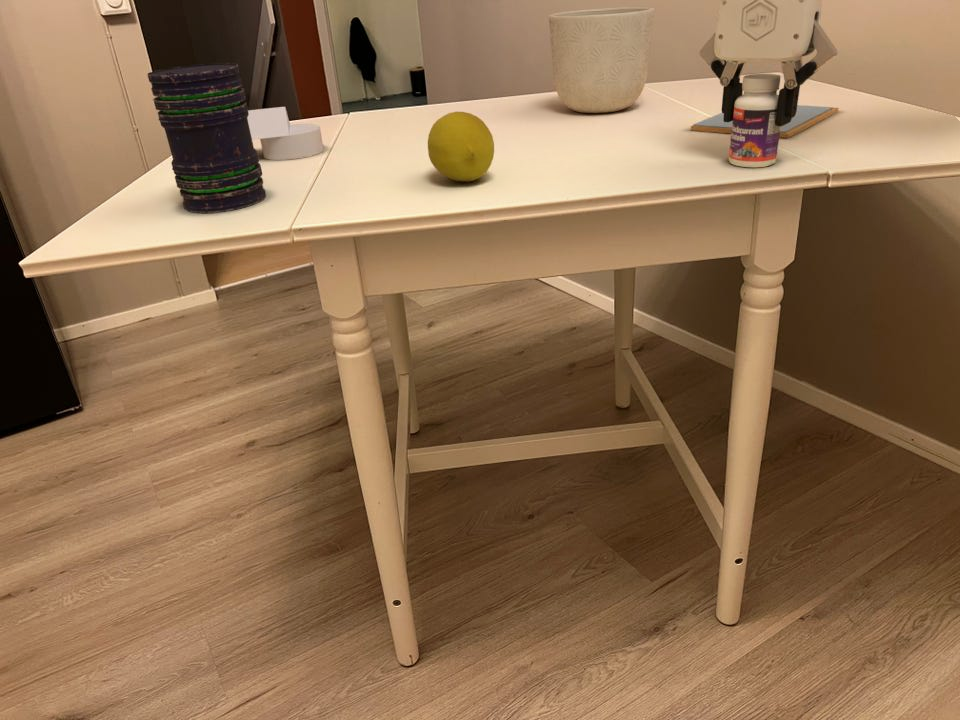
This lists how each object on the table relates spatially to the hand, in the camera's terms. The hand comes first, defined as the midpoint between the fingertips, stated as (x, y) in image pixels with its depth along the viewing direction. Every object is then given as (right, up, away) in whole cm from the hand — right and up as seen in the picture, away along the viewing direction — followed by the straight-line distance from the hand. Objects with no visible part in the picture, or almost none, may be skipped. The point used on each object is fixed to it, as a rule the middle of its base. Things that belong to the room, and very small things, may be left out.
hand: (756, 120), depth 82 cm
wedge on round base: (-63, +3, +25) cm, 68 cm away
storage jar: (-63, -9, +3) cm, 64 cm away
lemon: (-34, -6, +5) cm, 35 cm away
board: (+10, +8, +22) cm, 26 cm away
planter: (-12, +15, +40) cm, 44 cm away
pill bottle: (0, -4, +2) cm, 5 cm away
